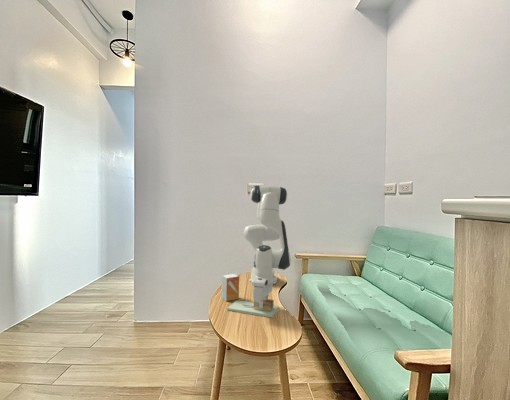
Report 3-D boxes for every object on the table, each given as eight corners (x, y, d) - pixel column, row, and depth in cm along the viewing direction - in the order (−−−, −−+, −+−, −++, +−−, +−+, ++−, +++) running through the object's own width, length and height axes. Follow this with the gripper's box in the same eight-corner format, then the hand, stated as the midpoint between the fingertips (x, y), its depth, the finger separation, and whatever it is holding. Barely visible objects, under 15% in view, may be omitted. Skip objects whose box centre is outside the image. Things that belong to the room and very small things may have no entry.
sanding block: (256, 305, 154) (256, 297, 153) (273, 307, 151) (273, 299, 150) (253, 308, 149) (253, 301, 149) (270, 311, 146) (270, 303, 146)
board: (236, 302, 161) (236, 299, 161) (279, 308, 153) (279, 306, 153) (227, 310, 150) (227, 307, 150) (272, 317, 142) (272, 315, 142)
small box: (226, 301, 162) (226, 278, 162) (221, 298, 168) (221, 275, 167) (239, 298, 167) (239, 276, 167) (233, 295, 172) (233, 273, 172)
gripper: (264, 272, 160) (264, 297, 161) (250, 283, 141) (250, 311, 141) (275, 273, 158) (275, 299, 158) (263, 284, 139) (263, 313, 139)
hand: (263, 305), depth 150 cm, fingers closed on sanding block, 5 cm apart
